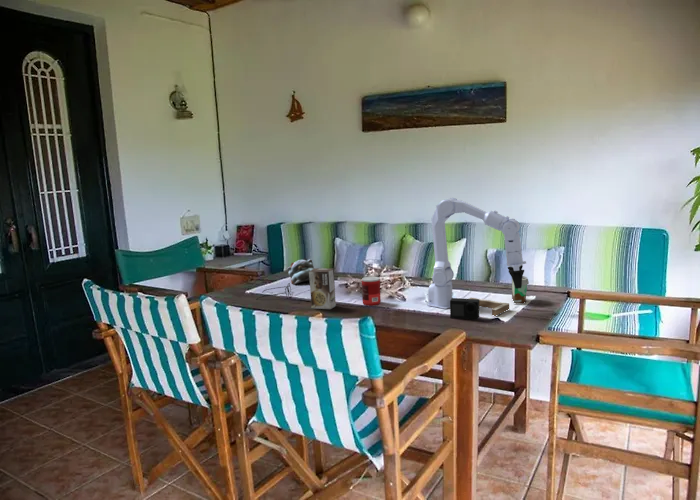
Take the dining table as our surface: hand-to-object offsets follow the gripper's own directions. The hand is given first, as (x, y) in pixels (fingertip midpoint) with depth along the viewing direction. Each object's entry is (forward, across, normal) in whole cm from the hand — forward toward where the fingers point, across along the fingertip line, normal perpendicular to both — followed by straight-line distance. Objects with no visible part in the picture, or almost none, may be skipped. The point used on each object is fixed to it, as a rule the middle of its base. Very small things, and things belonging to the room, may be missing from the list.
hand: (517, 286), depth 202 cm
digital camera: (+8, -9, +21) cm, 24 cm away
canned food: (+3, +8, +60) cm, 61 cm away
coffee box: (+1, +1, +79) cm, 79 cm away
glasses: (-2, +19, +109) cm, 110 cm away
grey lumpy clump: (-3, +47, +104) cm, 114 cm away
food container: (+10, +18, -1) cm, 20 cm away
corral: (+9, +2, +14) cm, 17 cm away
